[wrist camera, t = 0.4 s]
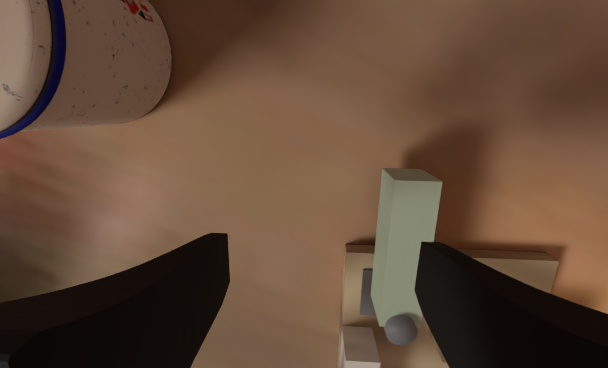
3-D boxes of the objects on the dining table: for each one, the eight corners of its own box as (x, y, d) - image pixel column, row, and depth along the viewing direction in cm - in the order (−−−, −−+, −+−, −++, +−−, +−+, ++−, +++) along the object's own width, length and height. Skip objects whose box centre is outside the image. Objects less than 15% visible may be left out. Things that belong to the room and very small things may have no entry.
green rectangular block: (421, 169, 17) (445, 183, 14) (404, 307, 20) (420, 346, 17) (382, 168, 18) (397, 182, 14) (369, 305, 20) (379, 344, 17)
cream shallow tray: (504, 404, 24) (542, 465, 20) (335, 393, 24) (339, 451, 20) (545, 252, 20) (602, 289, 16) (345, 244, 21) (351, 278, 17)
